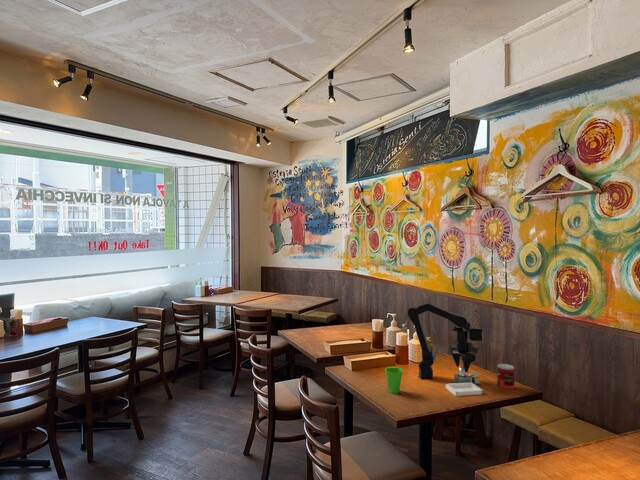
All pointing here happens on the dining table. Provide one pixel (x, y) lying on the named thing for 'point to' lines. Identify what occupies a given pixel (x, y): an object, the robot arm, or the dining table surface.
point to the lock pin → (461, 371)
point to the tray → (464, 389)
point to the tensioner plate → (467, 378)
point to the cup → (394, 379)
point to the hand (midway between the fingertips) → (461, 369)
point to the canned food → (505, 376)
